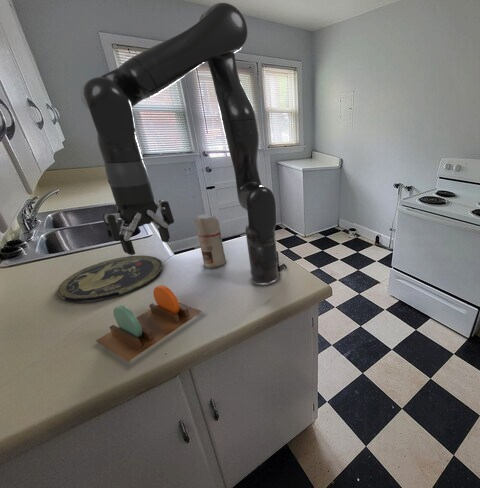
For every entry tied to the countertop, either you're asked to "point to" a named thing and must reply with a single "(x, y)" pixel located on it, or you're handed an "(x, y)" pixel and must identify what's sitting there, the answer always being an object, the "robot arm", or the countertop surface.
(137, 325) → the green disc
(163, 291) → the orange disc
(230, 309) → the countertop surface
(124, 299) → the countertop surface
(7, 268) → the countertop surface
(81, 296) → the decorative plate
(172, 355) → the countertop surface
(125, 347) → the rack
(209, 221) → the spray can
